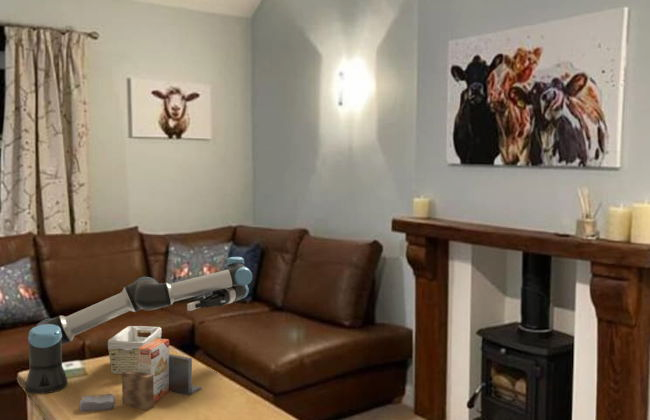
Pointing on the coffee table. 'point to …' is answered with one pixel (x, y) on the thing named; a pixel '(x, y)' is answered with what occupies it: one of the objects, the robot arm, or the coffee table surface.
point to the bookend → (181, 375)
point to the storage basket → (129, 347)
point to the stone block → (97, 403)
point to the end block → (137, 390)
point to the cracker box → (156, 365)
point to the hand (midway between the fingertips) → (188, 307)
